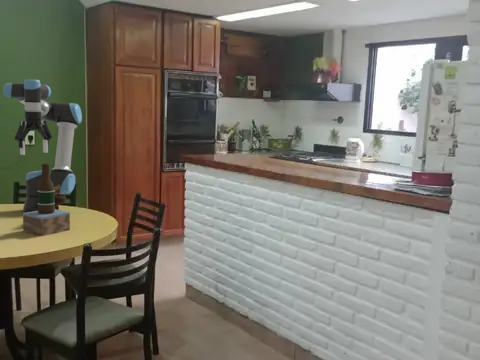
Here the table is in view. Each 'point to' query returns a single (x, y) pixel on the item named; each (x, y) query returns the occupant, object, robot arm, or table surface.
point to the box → (46, 225)
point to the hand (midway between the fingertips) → (34, 153)
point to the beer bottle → (46, 192)
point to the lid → (45, 216)
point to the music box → (58, 197)
